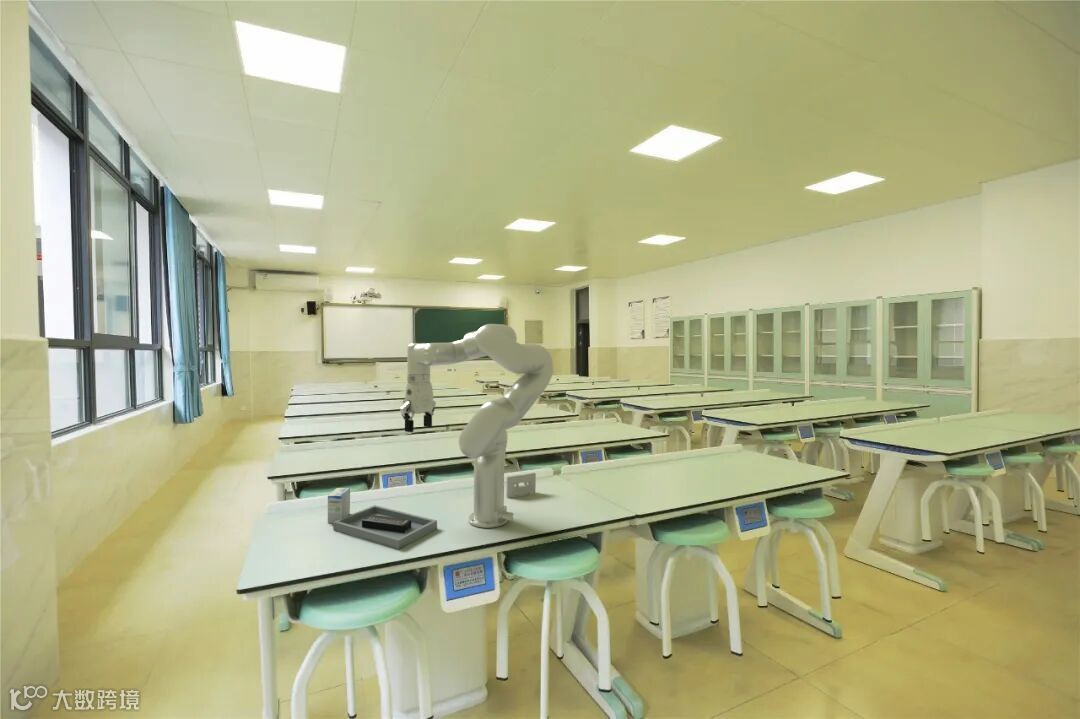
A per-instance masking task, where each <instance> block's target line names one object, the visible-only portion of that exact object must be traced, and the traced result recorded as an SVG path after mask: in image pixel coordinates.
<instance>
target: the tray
mask: <svg viewBox="0 0 1080 719" xmlns="http://www.w3.org/2000/svg"><path fill="white" fill-rule="evenodd" d="M369 515H377V516H384V517H391V518H399V519H406V520H411V529H409V530H408V531H406V532H405V533H398V532H391V531H384V530H377V529H370V528H363V527H362V519H364V518H365V517H367V516H369ZM332 525H333V527H332V530H333V531H334V532H335V531H336V532H338V533H341V534H346V535H348V536H352V537H355V538H358V539H362V540H365V541H369V542H371V543H376V544H379V545H382V546H385V547H388V548H392V549H395V550H398V551H399V550H401V549H402V548H404V547H407V546H408V545H410V544H411V543H412V544H413V543H414V542H415V541H417V540H419V539H420V538H421V539H422V537H424V536H426V535H428V534H430V533H432V532H433V531H435V530H437V529H438V520H437V519H433V518H428V517H424V516H420V515H416V514H413V513H412V514H411V513H407V512H404V511H400V510H396V509H392V508H388V507H384V506H379V505H376V504H374V505H372V506H369V507H367V508H365V509H362V510H359V511H356V512H354V513H352V514H350V515H348V516H347V517H344V518H342V519H339V520H337V521H334V522H333V523H332Z"/></svg>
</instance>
